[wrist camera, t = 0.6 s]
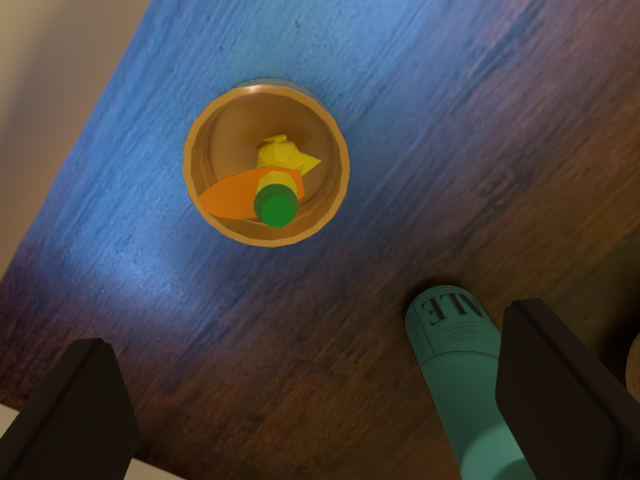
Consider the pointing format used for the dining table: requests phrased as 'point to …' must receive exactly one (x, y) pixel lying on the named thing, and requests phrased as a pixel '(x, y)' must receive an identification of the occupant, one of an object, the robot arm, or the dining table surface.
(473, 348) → the beverage bottle
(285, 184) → the toy figure
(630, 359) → the ceramic bowl
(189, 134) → the mustard bowl
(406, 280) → the dining table surface
